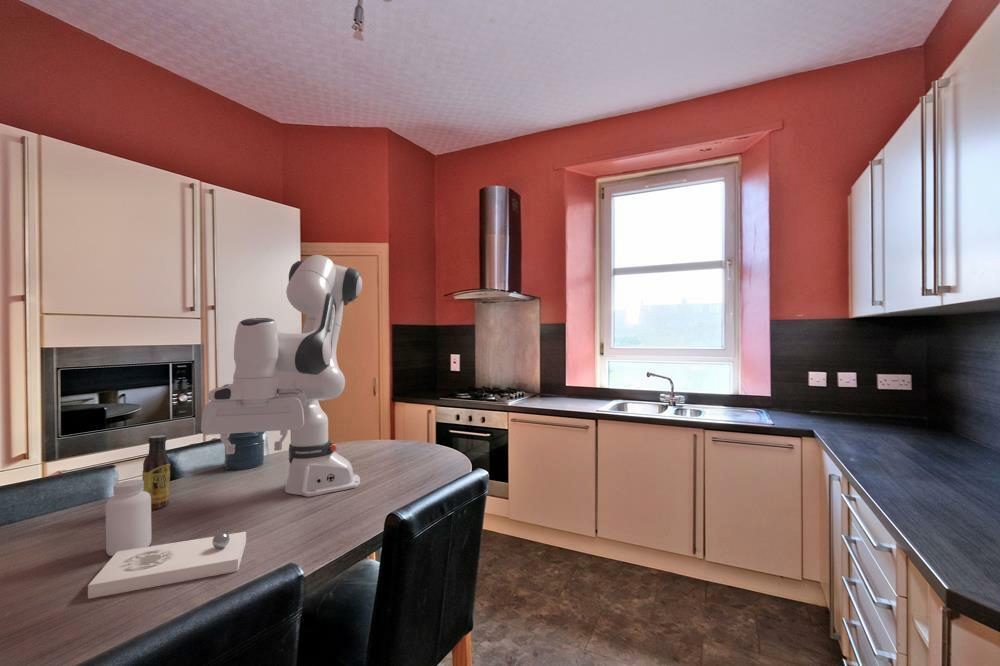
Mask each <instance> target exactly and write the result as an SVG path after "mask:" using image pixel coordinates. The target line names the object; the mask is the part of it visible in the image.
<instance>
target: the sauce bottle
mask: <svg viewBox="0 0 1000 666" xmlns="http://www.w3.org/2000/svg"><path fill="white" fill-rule="evenodd" d="M166 442H167V435H164V434H161V435H160V434H159V435H151V436H148V443H149V446H148V454H147V456H146V457H144V458H145V459H144V461H143V467H142V474H141V475H142V477H141V478H142V479H141V480H143V481H144V487H143V488H144V489H143V490H142V491H146V492H148V493H149V494H150V496H151V511H153V510H159V509H161V508H164V507H166V506H168V505H169V503H170V502H169V500H170V490H171V489H170V487H171V462H170V460H169V457H168V454H167V451H166Z"/></svg>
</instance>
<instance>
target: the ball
mask: <svg viewBox="0 0 1000 666" xmlns="http://www.w3.org/2000/svg"><path fill="white" fill-rule="evenodd" d="M228 534H229V533H226V532H219V533H217V534H216V535H215V537H214V536H213V537H214V538H213V540H212V544H213V546H214V547H215V548H217V549H221V548H224V547H225V546H226V545H227V544H228V543H229V540H230V537H229V535H228Z"/></svg>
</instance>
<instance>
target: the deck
mask: <svg viewBox="0 0 1000 666" xmlns="http://www.w3.org/2000/svg"><path fill="white" fill-rule="evenodd" d="M227 534H228V535H229V537H230V540H229V543H228V544H227V545H226V546H225V547H224V548H221V549H217V548H215V547H214V546H213V544H212V540H213V538H214V537H215V536H216V535H215V536H207V537H202V538H197V539H191V540H190V539H189V540H184V541H177V542H171V543H163V544H156V545H151V546H150V545H149V546H148V547H143V548H137V549H131V550H124V551H118V552H116V554H115V555H114V556H111V558H110V559H109V561H108V562H107V563H106V564H105V565H104V566H103V567H102V569H101V570H100V571H99V572H98V573H97V574H96V575H95V577H94V578H93V579H92V580H91V581H90V582H89V584H87V599H89V600H90V599H95V598H100V597H105V596H111V595H117V594H122V593H127V592H132V591H137V590H138V591H139V590H144V589H149V588H154V587H160V586H161V587H162V586H165V585H171V584H176V583H182V582H189V581H193V580H198V579H203V578H209V577H213V576H219V575H224V574H230V573H235V572H238V571H239V569H240V564H241V560H242V559H243V558H242V557H243V554H244V550H245V547H246V544H247V531H241V532H234V533H227Z"/></svg>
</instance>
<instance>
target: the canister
mask: <svg viewBox="0 0 1000 666" xmlns="http://www.w3.org/2000/svg"><path fill="white" fill-rule="evenodd" d="M264 434H265V431H263V432H247V433H230V434H229V437H228V438H227V439H228V441H229V442H230V444H231V445H233V444H235V448H234V449H235V453H234V454H226V447H225V445H224V444H223V445H224V461H223V462H224V464H223V465H224V467H225V470H230V471H231V470H233V471H234V470H235V471H238V470H246V469H253V468H257V467H259V466H261V465H263V464H264V462H265V445H264V444H265V439H264Z"/></svg>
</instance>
